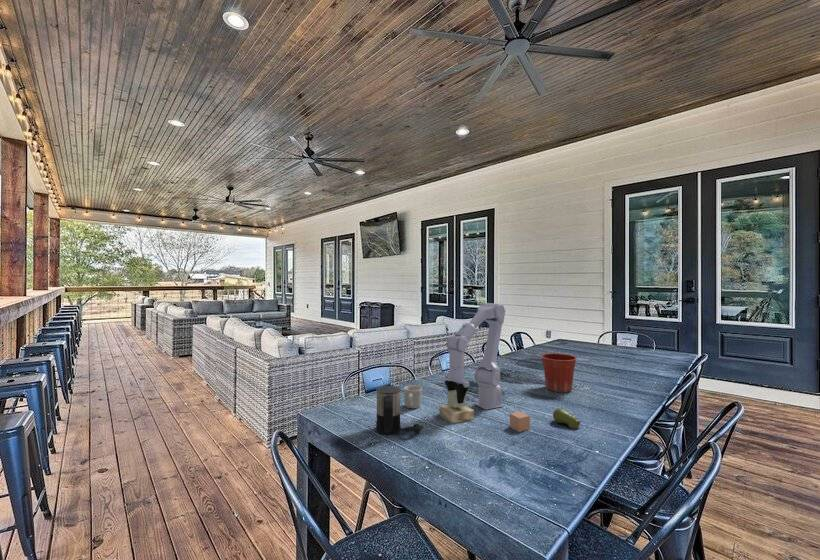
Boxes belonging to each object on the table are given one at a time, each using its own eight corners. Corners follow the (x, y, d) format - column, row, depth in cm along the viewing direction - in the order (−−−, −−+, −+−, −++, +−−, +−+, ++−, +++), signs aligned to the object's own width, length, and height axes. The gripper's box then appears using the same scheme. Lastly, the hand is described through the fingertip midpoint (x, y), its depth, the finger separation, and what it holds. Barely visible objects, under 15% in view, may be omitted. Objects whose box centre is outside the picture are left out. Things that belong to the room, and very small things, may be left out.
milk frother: (372, 426, 138) (372, 386, 137) (412, 420, 143) (412, 382, 143) (383, 442, 124) (383, 398, 124) (427, 435, 130) (427, 393, 130)
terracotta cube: (520, 424, 140) (520, 411, 140) (529, 429, 135) (529, 415, 135) (509, 427, 138) (509, 413, 138) (519, 432, 133) (519, 418, 133)
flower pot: (533, 386, 188) (533, 354, 188) (557, 382, 195) (558, 352, 195) (559, 396, 173) (559, 361, 173) (584, 391, 180) (584, 358, 180)
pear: (559, 404, 145) (584, 416, 138) (556, 417, 146) (581, 430, 138) (551, 407, 142) (576, 420, 134) (549, 420, 143) (573, 433, 135)
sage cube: (458, 401, 150) (458, 389, 150) (465, 405, 146) (465, 392, 146) (447, 403, 148) (447, 391, 148) (454, 407, 143) (454, 394, 143)
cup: (419, 413, 151) (419, 393, 151) (400, 411, 153) (400, 392, 153) (423, 404, 162) (423, 385, 162) (405, 402, 163) (405, 384, 163)
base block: (460, 412, 153) (460, 402, 153) (474, 420, 144) (474, 410, 144) (439, 415, 149) (439, 405, 149) (451, 424, 140) (451, 414, 140)
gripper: (438, 363, 151) (438, 396, 152) (458, 371, 138) (458, 408, 139) (453, 361, 155) (453, 394, 155) (474, 369, 142) (473, 405, 142)
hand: (456, 400), depth 147 cm, fingers closed on sage cube, 5 cm apart
